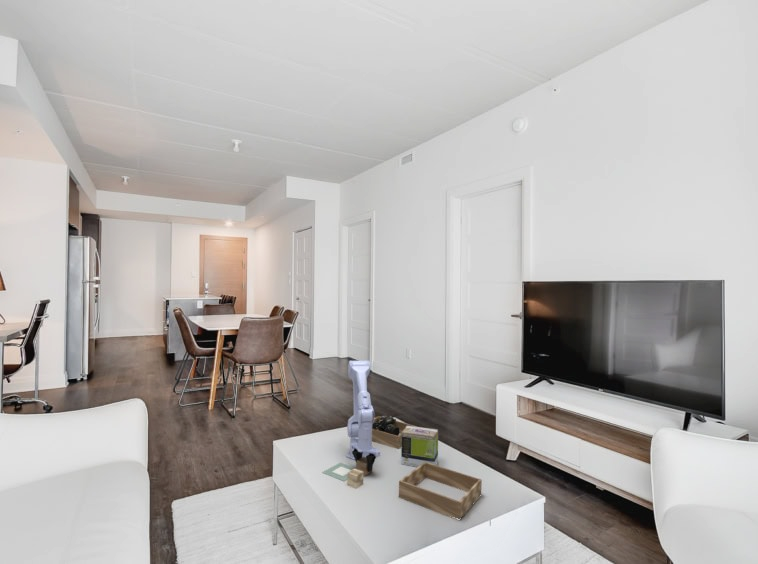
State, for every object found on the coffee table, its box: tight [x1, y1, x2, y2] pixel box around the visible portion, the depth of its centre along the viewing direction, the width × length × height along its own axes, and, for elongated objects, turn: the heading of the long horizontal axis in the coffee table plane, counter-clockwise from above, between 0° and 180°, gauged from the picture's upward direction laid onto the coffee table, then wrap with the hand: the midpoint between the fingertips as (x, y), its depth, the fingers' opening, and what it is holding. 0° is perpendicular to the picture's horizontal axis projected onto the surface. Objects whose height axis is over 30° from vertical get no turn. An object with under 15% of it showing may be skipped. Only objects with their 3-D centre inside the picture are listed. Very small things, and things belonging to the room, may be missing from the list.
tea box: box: [400, 425, 439, 468], centre depth 178 cm, size 15×10×15 cm
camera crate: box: [372, 416, 418, 450], centre depth 207 cm, size 19×25×6 cm
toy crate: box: [398, 462, 483, 519], centre depth 150 cm, size 21×25×6 cm
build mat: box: [321, 461, 356, 482], centre depth 167 cm, size 12×12×1 cm
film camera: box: [372, 415, 400, 436], centre depth 207 cm, size 18×12×10 cm
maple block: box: [346, 469, 364, 489], centre depth 157 cm, size 4×4×5 cm
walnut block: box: [355, 457, 374, 477], centre depth 167 cm, size 5×5×5 cm
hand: (364, 469), depth 167 cm, fingers closed on walnut block, 5 cm apart
